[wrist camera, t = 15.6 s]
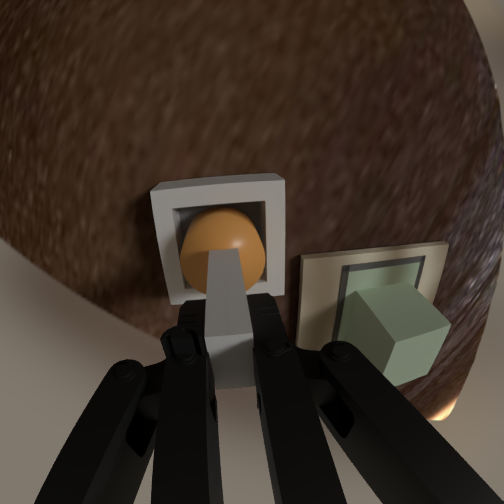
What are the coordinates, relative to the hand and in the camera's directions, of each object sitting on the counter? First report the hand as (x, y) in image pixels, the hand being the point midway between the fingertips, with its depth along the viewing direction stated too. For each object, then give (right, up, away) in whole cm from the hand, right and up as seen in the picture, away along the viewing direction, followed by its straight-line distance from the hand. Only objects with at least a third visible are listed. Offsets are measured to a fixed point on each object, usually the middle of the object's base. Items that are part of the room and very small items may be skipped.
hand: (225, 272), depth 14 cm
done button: (-1, +2, +4) cm, 4 cm away
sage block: (+14, -5, +10) cm, 17 cm away
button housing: (-1, +3, +5) cm, 6 cm away
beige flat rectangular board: (+13, -4, +10) cm, 18 cm away
